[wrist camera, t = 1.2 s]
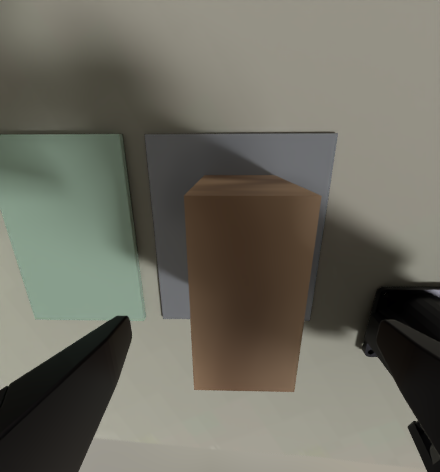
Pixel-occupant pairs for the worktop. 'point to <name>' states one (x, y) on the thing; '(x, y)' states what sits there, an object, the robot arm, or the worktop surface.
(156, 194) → the plate
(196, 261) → the walnut block
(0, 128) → the worktop surface
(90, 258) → the green mat
